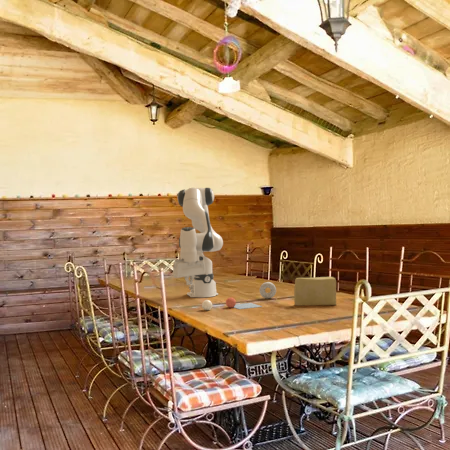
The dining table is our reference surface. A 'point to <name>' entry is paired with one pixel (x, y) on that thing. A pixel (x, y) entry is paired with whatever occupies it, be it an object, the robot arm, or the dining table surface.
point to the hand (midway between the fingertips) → (189, 284)
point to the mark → (246, 306)
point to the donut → (267, 285)
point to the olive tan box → (315, 291)
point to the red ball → (230, 302)
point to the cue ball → (207, 305)
